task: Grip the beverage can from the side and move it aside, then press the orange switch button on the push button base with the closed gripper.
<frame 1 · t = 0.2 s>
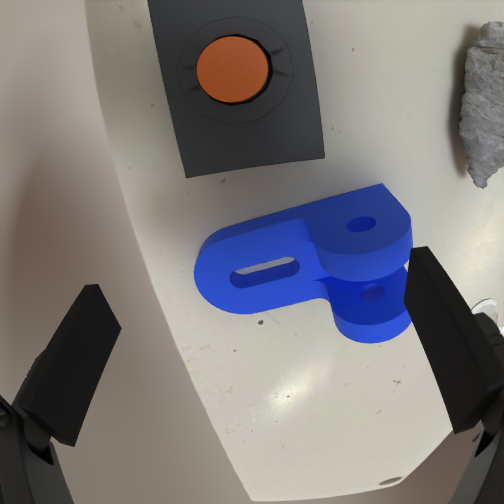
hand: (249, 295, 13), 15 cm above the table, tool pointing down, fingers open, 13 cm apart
bracket: (293, 250, 29), on the table
push button base: (239, 70, 20), on the table
grey ridged oval piece: (475, 99, 20), on the table
candle: (480, 313, 32), on the table
switch: (233, 69, 16), point 5 cm above the table, slide at 0.1 cm
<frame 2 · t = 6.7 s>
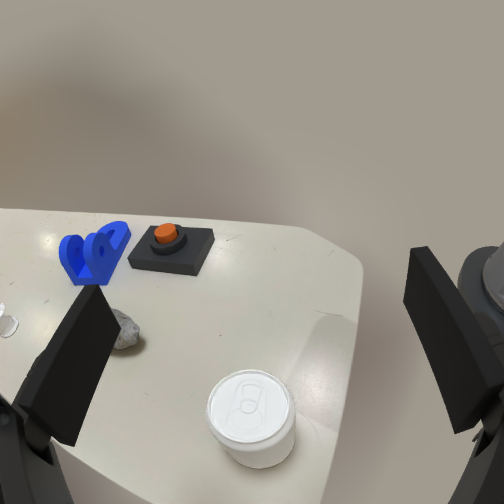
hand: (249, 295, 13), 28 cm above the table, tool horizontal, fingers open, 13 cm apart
bracket: (106, 254, 63), on the table
beverage can: (260, 438, 33), on the table
push button base: (173, 253, 60), on the table
grey ridged oval piece: (111, 335, 47), on the table
candle: (10, 328, 49), on the table
switch: (166, 233, 57), point 5 cm above the table, slide at 0.1 cm
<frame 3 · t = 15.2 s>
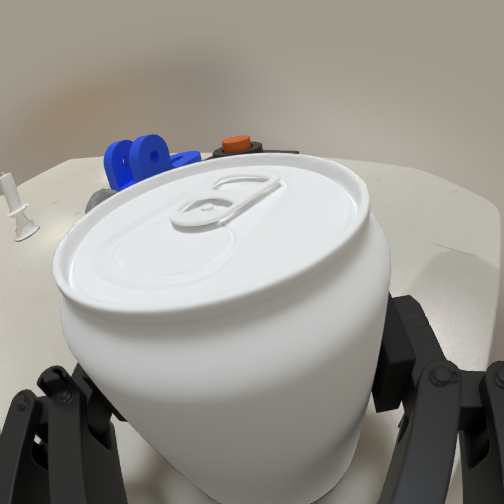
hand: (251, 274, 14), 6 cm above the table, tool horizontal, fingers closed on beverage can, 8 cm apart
bracket: (165, 179, 54), on the table
beverage can: (270, 441, 13), on the table, touching gripper
push button base: (242, 177, 46), on the table
grey ridged oval piece: (121, 241, 35), on the table
candle: (27, 234, 46), on the table
switch: (236, 144, 43), point 5 cm above the table, slide at 0.1 cm
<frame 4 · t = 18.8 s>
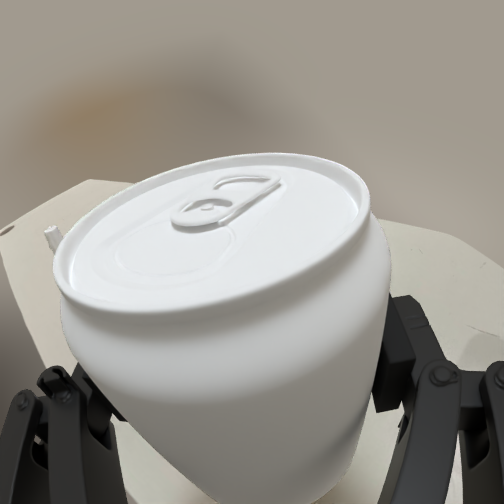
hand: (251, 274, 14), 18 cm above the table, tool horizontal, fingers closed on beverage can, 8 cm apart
beverage can: (270, 442, 13), point 11 cm above the table, touching gripper
candle: (77, 285, 50), on the table
when the fingers open (6 cm above the table, at t = 22.5 s): beverage can stays where it is, on the table.
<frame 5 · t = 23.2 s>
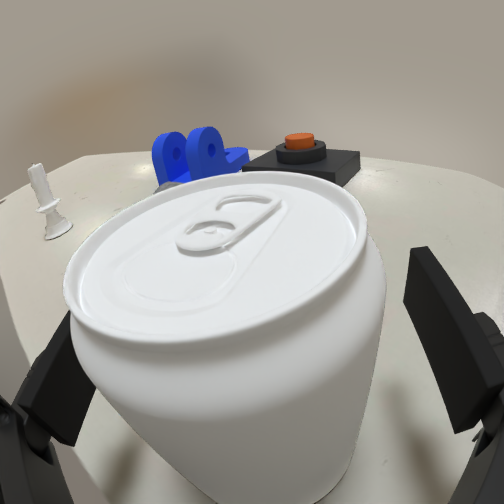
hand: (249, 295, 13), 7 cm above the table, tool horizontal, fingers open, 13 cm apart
bracket: (213, 175, 52), on the table
beverage can: (270, 446, 14), on the table
push button base: (303, 175, 44), on the table
candle: (59, 232, 44), on the table
switch: (299, 141, 42), point 5 cm above the table, slide at 0.1 cm
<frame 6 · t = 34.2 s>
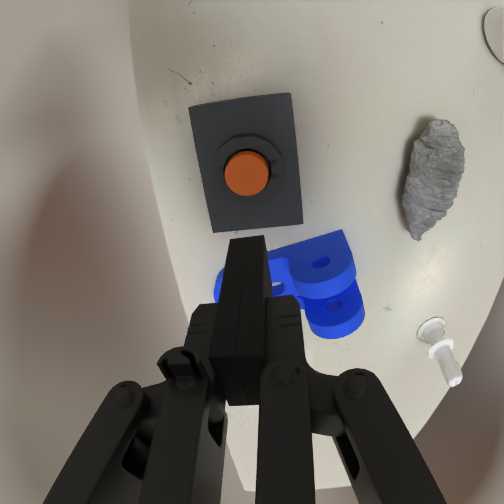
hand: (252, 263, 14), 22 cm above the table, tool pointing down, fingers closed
bracket: (282, 276, 41), on the table
beverage can: (502, 37, 22), on the table
push button base: (250, 160, 34), on the table
grey ridged oval piece: (421, 173, 33), on the table
candle: (431, 328, 45), on the table
switch: (246, 173, 29), point 5 cm above the table, slide at 0.1 cm
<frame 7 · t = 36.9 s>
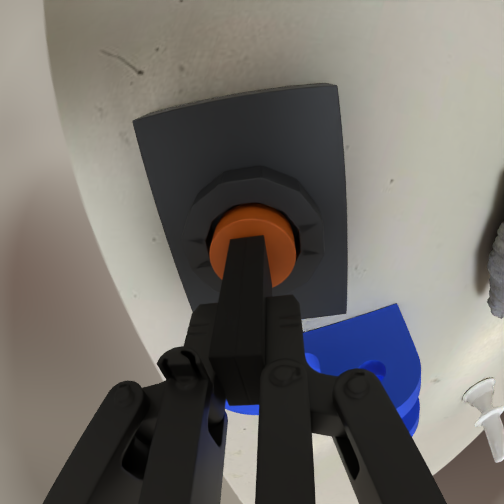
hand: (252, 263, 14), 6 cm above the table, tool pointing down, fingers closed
bracket: (304, 362, 27), on the table
push button base: (256, 208, 19), on the table
candle: (478, 388, 31), on the table
switch: (253, 248, 15), point 5 cm above the table, slide at -0.3 cm, touching gripper
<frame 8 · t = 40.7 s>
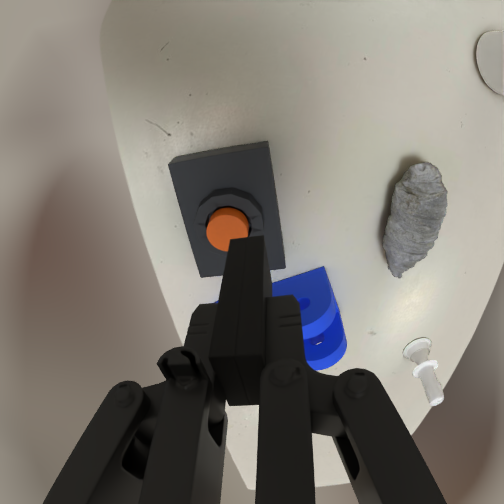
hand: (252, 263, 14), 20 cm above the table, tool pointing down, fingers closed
bracket: (269, 309, 43), on the table
beverage can: (496, 62, 23), on the table
push button base: (232, 208, 35), on the table
grey ridged oval piece: (403, 211, 35), on the table
candle: (416, 347, 47), on the table
switch: (227, 229, 31), point 5 cm above the table, slide at 0.1 cm
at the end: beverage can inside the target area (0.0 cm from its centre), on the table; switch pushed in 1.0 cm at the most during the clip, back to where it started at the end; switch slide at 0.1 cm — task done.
